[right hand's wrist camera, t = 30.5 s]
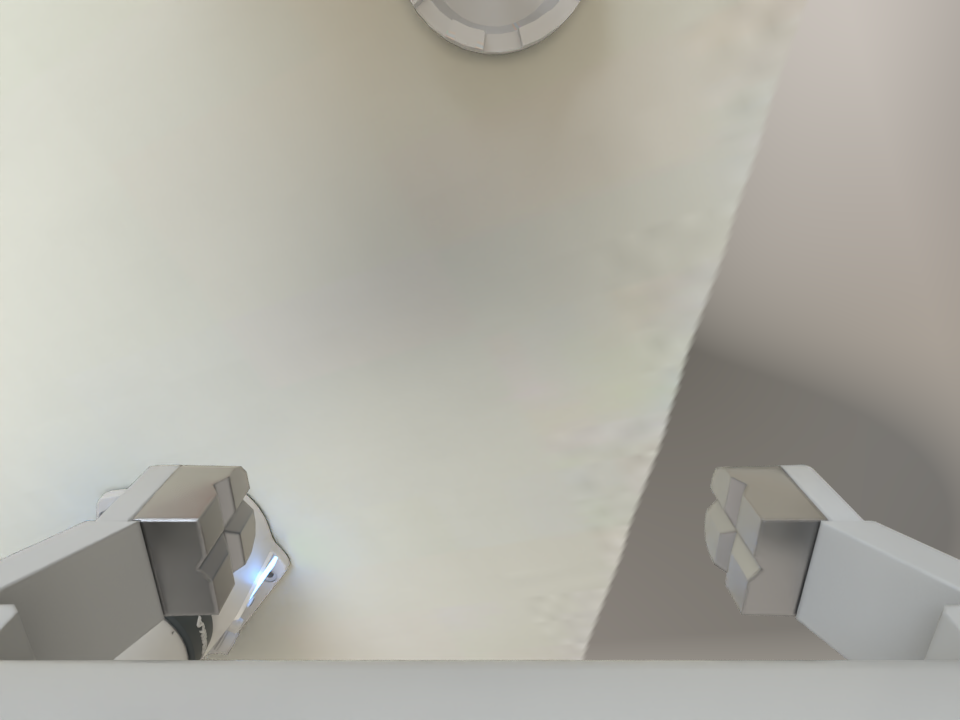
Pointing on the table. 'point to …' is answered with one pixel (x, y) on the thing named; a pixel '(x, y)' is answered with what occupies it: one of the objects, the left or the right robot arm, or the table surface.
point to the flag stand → (494, 22)
